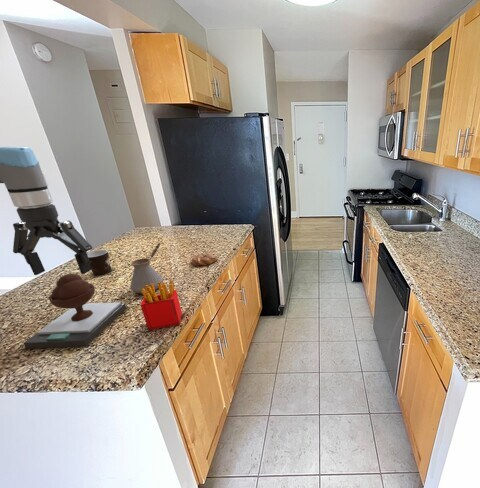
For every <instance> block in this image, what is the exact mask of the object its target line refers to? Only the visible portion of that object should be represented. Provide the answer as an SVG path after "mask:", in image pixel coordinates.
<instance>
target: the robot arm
mask: <svg viewBox="0 0 480 488" xmlns="http://www.w3.org/2000/svg"><path fill="white" fill-rule="evenodd" d="M0 184H4V186H5V189H6V190H7V193H8V195H9V197H10V200H11V202H12V204H13V206H14V207H16V213H17V215H18V217H19V219H20V221H18V222H14V223H13V224H12V226H13V229H14V237H13V246H12V252H13V254H20V255H21V256H23V257H24V260H25V262H26V264H27V265H29V267H30V269H31V271H32V273H33V276H38V275H40V274H42V273H44V272H46V269H45V267H44V265H43V263H42V260H41V258H40V255H39V254H38V251H36V250H35V248H36V246H37V245H38V243H39V241H40V239H43V238H48V239H49V238H50V239H51V238H52V239H54V240H57V241H59V242H60V243H62V244H63V245H64V246H65V247H67V248H68V249H70V250H71V251H73V252H74V253H75V254H74V259H75V261H76V263H77V266H78V268H79V269H78V270H79V271H80V273H81V275H85V274H87V273H88V272H90V271H92V270H91V269H90V266H89V263H88V262H89V258H88V255H87V253H88V252H90V251H91V250H93V246H92V245H91V244H90V243H89V242H88V240H87V239H86V238H85V237H84V236H83V235H82V234H81V233H80V232H79V231H78V230H77V228H75V226H74V224H73V222H72V221H71V220H65V221H61V222H60V220H59V218H58V217H59V213H58V210H57V208H56V205H55V204H53V202H54V201H53V198H52V195H51V193H50V189H49V187H48V184H47V182H46V179H45V177H44V174H43V170H42V169H41V165H40V162H39V160H38V159H37V157H36V154H35V152H34V151H33V150H32V148H30V147H27V146H0Z"/></svg>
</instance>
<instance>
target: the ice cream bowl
mask: <svg viewBox="0 0 480 488" xmlns="http://www.w3.org/2000/svg"><path fill="white" fill-rule="evenodd" d="M55 284H56V286H55V287H54V288H53V289H52V291H51V294H50V295H48V297H47V298H48V300H49V302H50V303H51V304H52V306H54V307H56V308H59V309H73V308H75V309H76V311H77V313H76V314H74V315H73V316H72V317H71V319H72V321H80V320H84V319H86V318H88V317H90V316H91V315H92V314H93V312H92V311H91V310H83V308H82V306H83V305H84V304H87V303H88V302H89V301H90V300H91V299H92V298H93V296H94V295H95V292H96V287H95V286H94V284H93V283H89V281H86V280H85V279H83V278H82V276H81V275H80V274H77V273H66V274H64V275H62V276H60V277H59V279H58V280H57V281H56V283H55Z"/></svg>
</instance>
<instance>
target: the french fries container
mask: <svg viewBox="0 0 480 488" xmlns="http://www.w3.org/2000/svg"><path fill="white" fill-rule="evenodd" d="M150 286H151V287H149V286H148V285H146V286H145V288H146V291H145V289H141V292H142V293H143V294H142V296H143V299H142V301H141V303H140V309H141V311H142V314H143V319H144V321H145V324H146V327H147V330H148V331H153V330H158V329H162V328H168V327H172V326H177V325H178V326H179V325H180V324H181V321H182V316H183V313H182V308H181V307H182V306H181V303H180V298H179V295H178V291H177V289H175V285H174V280H170V281H169V284H168V287H167V284H166V283H162V284H161V282H158V291H159V294H156V290H155V288H154V284H150ZM168 291H169V292H168Z"/></svg>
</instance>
